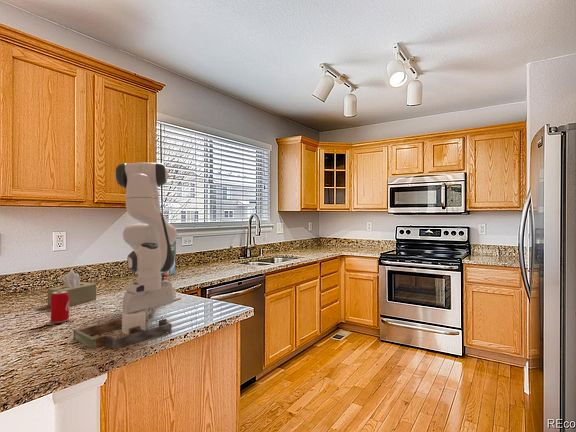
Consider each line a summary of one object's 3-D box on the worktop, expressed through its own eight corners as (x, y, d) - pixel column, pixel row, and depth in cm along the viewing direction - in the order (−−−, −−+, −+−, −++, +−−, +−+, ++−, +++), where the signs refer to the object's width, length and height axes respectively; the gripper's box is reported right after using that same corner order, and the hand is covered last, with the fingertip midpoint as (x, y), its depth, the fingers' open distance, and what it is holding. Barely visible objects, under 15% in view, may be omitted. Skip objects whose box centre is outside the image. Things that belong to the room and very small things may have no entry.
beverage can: (72, 319, 146) (72, 290, 146) (63, 323, 140) (63, 293, 140) (56, 318, 146) (57, 290, 146) (47, 323, 140) (47, 293, 139)
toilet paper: (139, 323, 142) (139, 306, 141) (148, 331, 133) (148, 313, 133) (117, 327, 136) (117, 309, 136) (125, 335, 128) (125, 316, 128)
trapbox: (146, 319, 146) (146, 312, 146) (176, 330, 134) (176, 322, 134) (73, 338, 124) (73, 330, 124) (101, 353, 112) (101, 343, 112)
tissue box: (83, 297, 182) (83, 267, 182) (96, 299, 179) (97, 268, 178) (46, 306, 165) (46, 272, 165) (60, 308, 161) (61, 274, 161)
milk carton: (163, 272, 257) (164, 238, 256) (175, 273, 255) (175, 238, 255) (157, 274, 248) (157, 239, 247) (169, 275, 246) (170, 239, 246)
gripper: (167, 279, 149) (166, 311, 150) (120, 287, 133) (120, 323, 133) (176, 281, 146) (176, 314, 146) (129, 289, 129) (129, 327, 129)
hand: (148, 318), depth 139 cm, fingers closed
